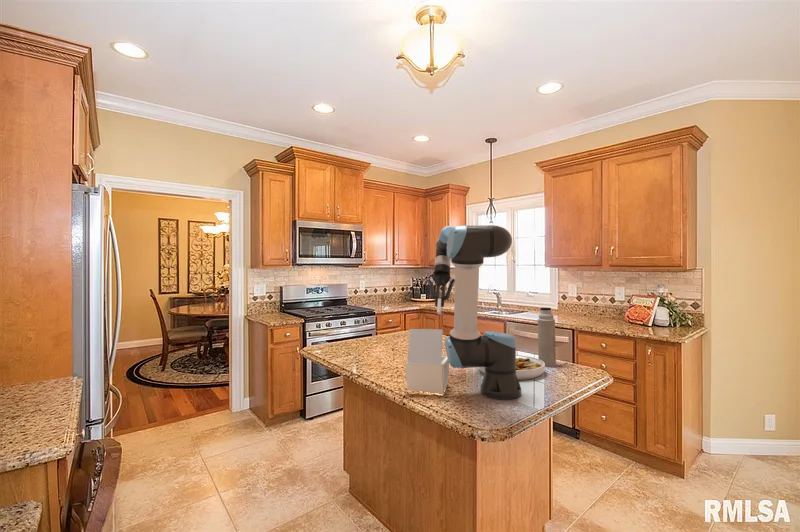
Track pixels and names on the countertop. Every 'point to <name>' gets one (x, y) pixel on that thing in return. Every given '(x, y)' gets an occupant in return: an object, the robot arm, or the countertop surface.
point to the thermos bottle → (546, 338)
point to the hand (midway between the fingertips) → (438, 313)
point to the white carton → (428, 376)
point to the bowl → (526, 367)
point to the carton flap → (425, 346)
